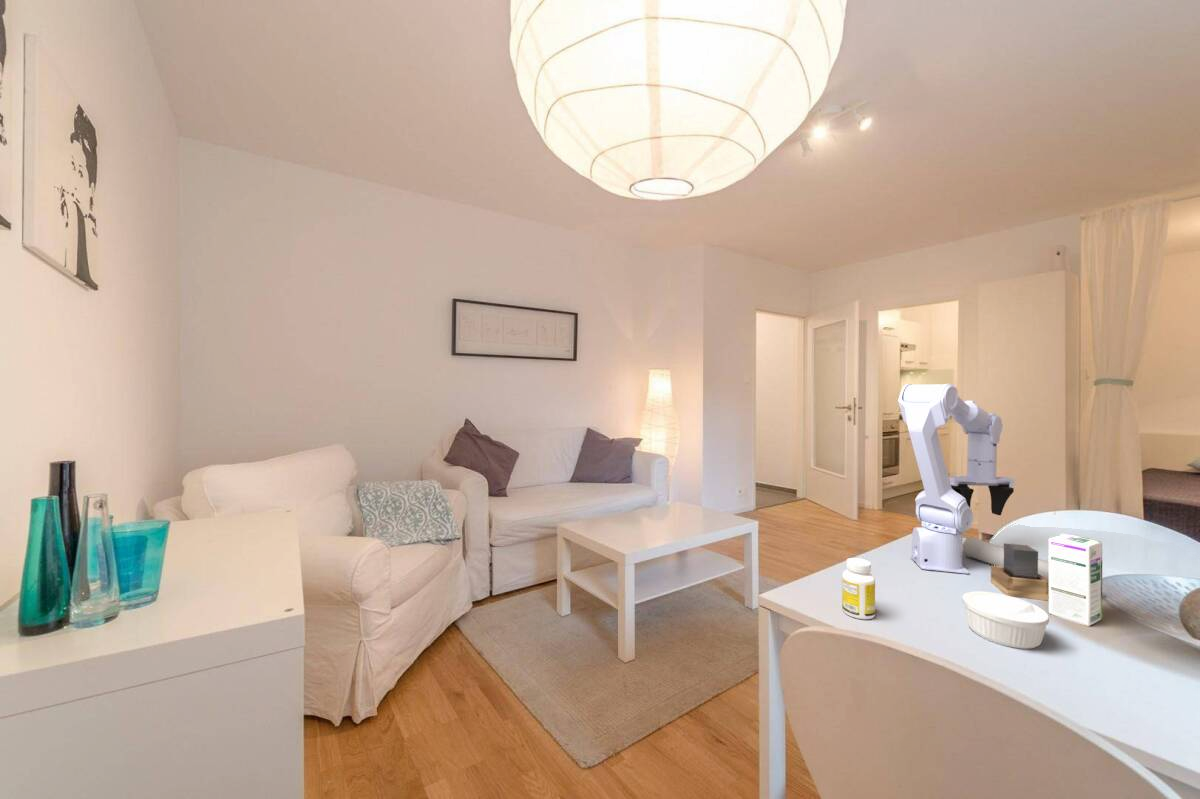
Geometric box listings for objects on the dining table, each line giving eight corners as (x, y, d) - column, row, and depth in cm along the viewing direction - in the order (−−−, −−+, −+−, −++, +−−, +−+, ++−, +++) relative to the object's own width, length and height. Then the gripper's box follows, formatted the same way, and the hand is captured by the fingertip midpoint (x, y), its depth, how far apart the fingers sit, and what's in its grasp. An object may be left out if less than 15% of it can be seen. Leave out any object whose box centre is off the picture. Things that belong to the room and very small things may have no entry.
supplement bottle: (871, 609, 90) (872, 558, 90) (878, 622, 85) (878, 568, 85) (840, 604, 92) (840, 555, 92) (844, 617, 87) (845, 565, 86)
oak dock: (1007, 596, 96) (1007, 577, 96) (990, 582, 102) (990, 565, 102) (1051, 600, 94) (1051, 582, 93) (1030, 586, 100) (1031, 569, 100)
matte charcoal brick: (1013, 588, 97) (1013, 549, 96) (1003, 580, 100) (1004, 543, 100) (1037, 590, 95) (1038, 551, 95) (1026, 583, 99) (1027, 545, 99)
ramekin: (1057, 661, 73) (1057, 627, 73) (966, 641, 79) (967, 610, 79) (1038, 630, 83) (1039, 600, 82) (958, 613, 88) (959, 586, 88)
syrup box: (1090, 627, 83) (1092, 546, 83) (1046, 613, 88) (1048, 536, 88) (1102, 620, 86) (1104, 541, 85) (1059, 606, 91) (1061, 532, 91)
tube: (1108, 579, 95) (980, 539, 119) (1090, 573, 94) (965, 534, 118) (1101, 605, 95) (974, 559, 119) (1083, 599, 93) (959, 554, 118)
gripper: (963, 462, 115) (962, 518, 115) (1025, 463, 114) (1024, 518, 115) (943, 458, 122) (942, 510, 122) (1001, 458, 121) (1000, 511, 122)
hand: (980, 514), depth 119 cm, fingers open, 7 cm apart
